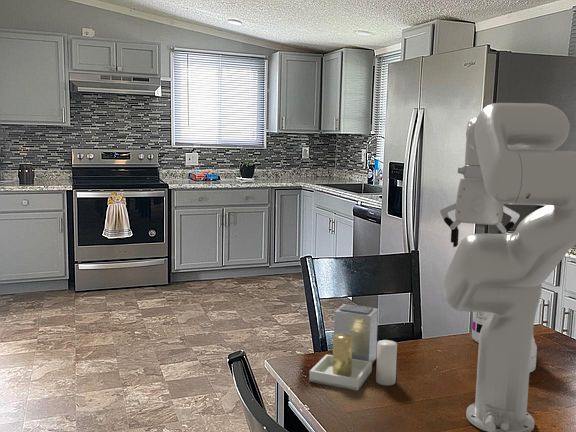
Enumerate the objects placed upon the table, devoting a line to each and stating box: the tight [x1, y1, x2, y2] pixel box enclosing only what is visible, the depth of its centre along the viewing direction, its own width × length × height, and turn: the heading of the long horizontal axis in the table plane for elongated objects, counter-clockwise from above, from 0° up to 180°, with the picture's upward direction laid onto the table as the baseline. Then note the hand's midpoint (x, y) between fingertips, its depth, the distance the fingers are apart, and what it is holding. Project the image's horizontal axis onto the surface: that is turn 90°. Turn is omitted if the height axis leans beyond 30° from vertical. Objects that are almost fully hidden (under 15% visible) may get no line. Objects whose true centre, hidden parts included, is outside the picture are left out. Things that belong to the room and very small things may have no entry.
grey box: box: [333, 303, 379, 364], centre depth 143 cm, size 7×9×13 cm
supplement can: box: [471, 312, 492, 344], centre depth 159 cm, size 8×8×15 cm
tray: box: [308, 353, 373, 392], centre depth 133 cm, size 11×11×2 cm
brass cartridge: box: [332, 333, 352, 377], centre depth 133 cm, size 4×4×9 cm
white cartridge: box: [375, 339, 398, 386], centre depth 131 cm, size 4×4×9 cm
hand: (477, 247), depth 133 cm, fingers open, 9 cm apart
